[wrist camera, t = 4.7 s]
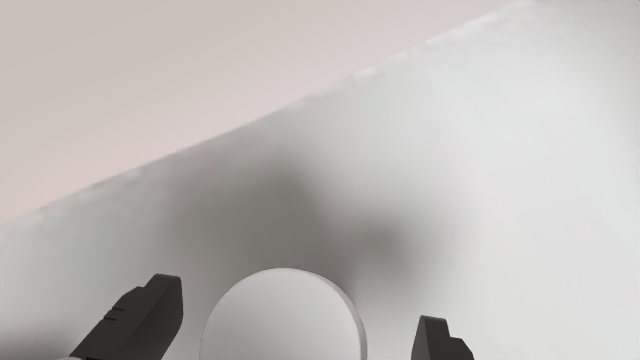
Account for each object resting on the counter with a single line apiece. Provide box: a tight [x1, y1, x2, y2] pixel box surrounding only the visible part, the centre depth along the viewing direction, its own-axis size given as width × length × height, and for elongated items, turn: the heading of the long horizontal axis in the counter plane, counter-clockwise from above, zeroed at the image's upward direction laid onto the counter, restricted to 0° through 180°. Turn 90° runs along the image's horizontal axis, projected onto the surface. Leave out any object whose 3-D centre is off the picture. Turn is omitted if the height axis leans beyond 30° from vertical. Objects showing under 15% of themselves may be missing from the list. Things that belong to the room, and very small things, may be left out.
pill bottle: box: [199, 268, 367, 360], centre depth 13 cm, size 5×5×8 cm
